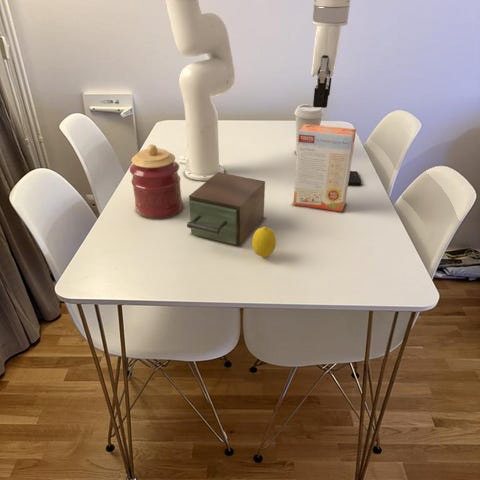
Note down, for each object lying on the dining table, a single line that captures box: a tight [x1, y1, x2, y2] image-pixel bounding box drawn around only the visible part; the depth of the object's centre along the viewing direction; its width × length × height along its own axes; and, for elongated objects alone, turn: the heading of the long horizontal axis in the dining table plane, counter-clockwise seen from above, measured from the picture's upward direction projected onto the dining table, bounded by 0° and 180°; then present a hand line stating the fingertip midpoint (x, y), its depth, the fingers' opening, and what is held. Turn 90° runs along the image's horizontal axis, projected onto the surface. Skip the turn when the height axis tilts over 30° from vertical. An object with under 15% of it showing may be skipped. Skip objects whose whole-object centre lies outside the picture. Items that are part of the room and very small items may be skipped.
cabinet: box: [188, 172, 266, 247], centre depth 118 cm, size 16×14×11 cm
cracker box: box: [293, 124, 357, 212], centre depth 124 cm, size 14×6×21 cm, turn 71°
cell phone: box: [348, 170, 362, 186], centre depth 144 cm, size 9×18×1 cm, turn 87°
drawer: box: [186, 200, 238, 245], centre depth 115 cm, size 20×12×9 cm, turn 156°
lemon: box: [251, 226, 277, 258], centre depth 107 cm, size 6×6×8 cm
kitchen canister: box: [129, 144, 183, 219], centre depth 123 cm, size 13×13×18 cm
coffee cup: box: [294, 103, 324, 155], centre depth 156 cm, size 10×10×15 cm
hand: (321, 101), depth 109 cm, fingers open, 9 cm apart
